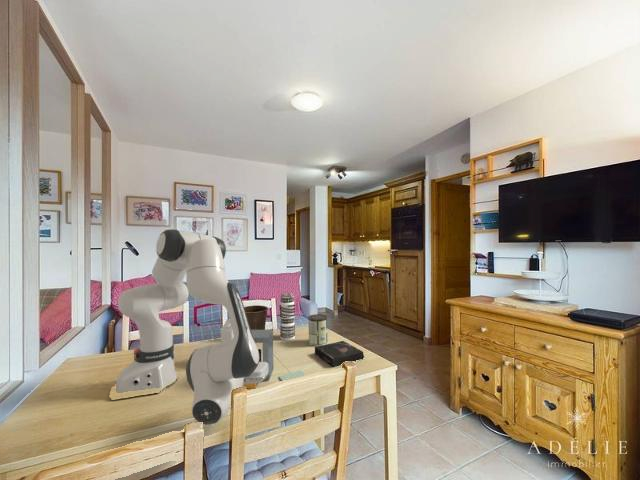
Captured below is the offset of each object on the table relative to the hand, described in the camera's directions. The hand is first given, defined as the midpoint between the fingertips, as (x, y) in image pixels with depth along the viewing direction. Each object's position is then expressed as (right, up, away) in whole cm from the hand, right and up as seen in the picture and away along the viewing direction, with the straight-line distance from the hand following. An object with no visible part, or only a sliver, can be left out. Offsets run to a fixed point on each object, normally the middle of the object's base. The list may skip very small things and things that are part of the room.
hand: (242, 361), depth 98 cm
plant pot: (-12, -14, +67) cm, 69 cm away
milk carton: (-14, -14, +34) cm, 39 cm away
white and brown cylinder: (+8, -14, +64) cm, 66 cm away
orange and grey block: (0, -14, +16) cm, 21 cm away
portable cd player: (+36, -14, +37) cm, 53 cm away
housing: (0, -14, +20) cm, 24 cm away
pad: (+17, -14, +15) cm, 26 cm away
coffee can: (+26, -14, +55) cm, 62 cm away
